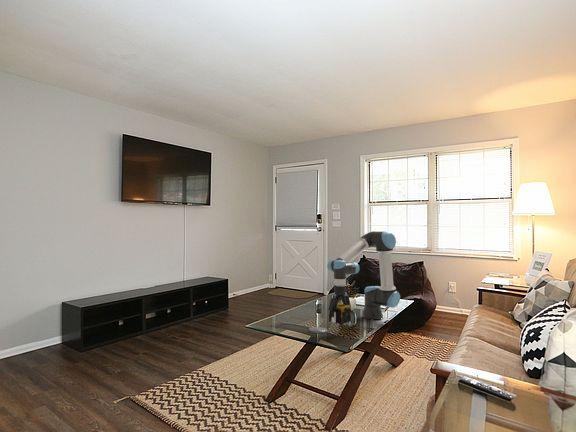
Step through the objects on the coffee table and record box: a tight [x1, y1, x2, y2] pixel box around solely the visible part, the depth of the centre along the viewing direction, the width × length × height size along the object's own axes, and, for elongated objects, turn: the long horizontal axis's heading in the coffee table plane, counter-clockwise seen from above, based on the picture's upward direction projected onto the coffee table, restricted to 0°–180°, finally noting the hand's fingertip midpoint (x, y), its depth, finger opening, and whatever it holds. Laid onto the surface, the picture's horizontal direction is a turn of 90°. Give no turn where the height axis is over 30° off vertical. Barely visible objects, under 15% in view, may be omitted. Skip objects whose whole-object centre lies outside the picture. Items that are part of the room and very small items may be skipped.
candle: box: [328, 302, 352, 325], centre depth 214 cm, size 10×10×10 cm
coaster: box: [308, 326, 329, 334], centre depth 220 cm, size 12×12×1 cm
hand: (340, 320), depth 213 cm, fingers closed on candle, 10 cm apart
